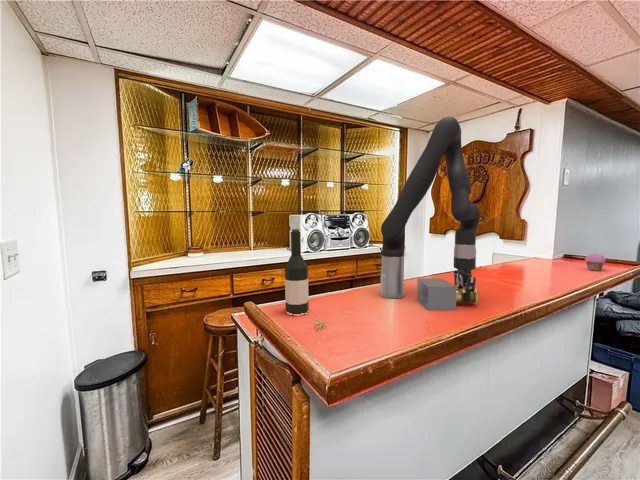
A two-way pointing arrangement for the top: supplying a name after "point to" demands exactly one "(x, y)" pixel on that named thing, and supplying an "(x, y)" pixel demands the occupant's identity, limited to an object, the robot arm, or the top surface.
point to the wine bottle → (296, 278)
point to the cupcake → (595, 261)
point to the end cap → (473, 296)
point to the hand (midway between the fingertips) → (463, 300)
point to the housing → (436, 294)
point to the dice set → (319, 324)
